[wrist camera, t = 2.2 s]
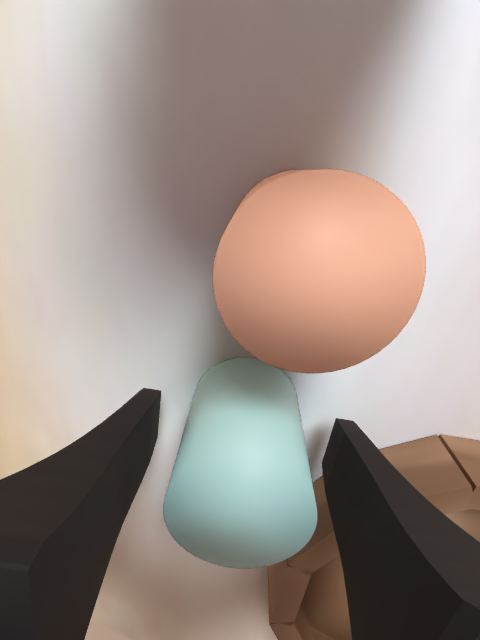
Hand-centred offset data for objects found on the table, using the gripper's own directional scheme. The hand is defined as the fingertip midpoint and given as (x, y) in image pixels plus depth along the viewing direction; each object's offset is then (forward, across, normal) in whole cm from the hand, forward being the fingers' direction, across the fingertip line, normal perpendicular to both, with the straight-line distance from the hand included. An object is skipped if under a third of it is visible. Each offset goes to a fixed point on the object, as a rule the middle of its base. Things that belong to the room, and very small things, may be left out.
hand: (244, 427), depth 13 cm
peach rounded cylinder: (+1, 0, -6) cm, 7 cm away
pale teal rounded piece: (+2, 0, 0) cm, 2 cm away
